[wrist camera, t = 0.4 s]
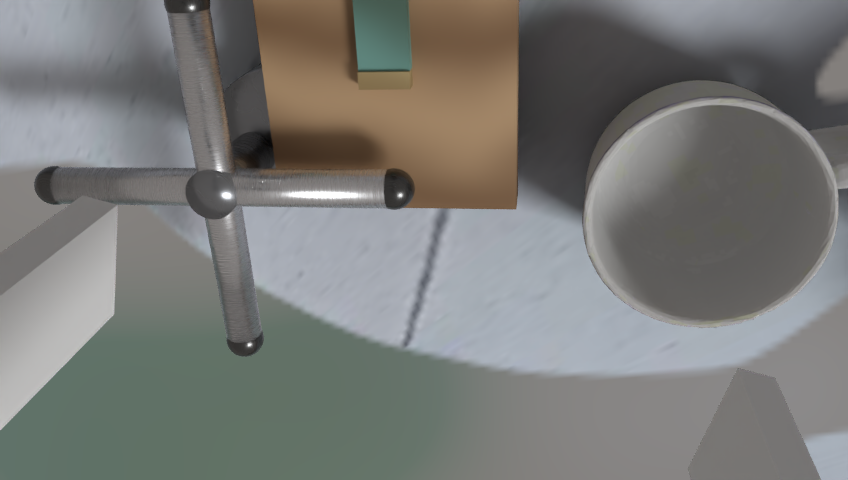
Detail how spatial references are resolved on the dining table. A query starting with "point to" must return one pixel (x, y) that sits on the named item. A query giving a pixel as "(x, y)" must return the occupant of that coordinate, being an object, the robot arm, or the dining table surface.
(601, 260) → the teacup
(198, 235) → the dining table surface
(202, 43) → the capstan
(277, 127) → the stand
